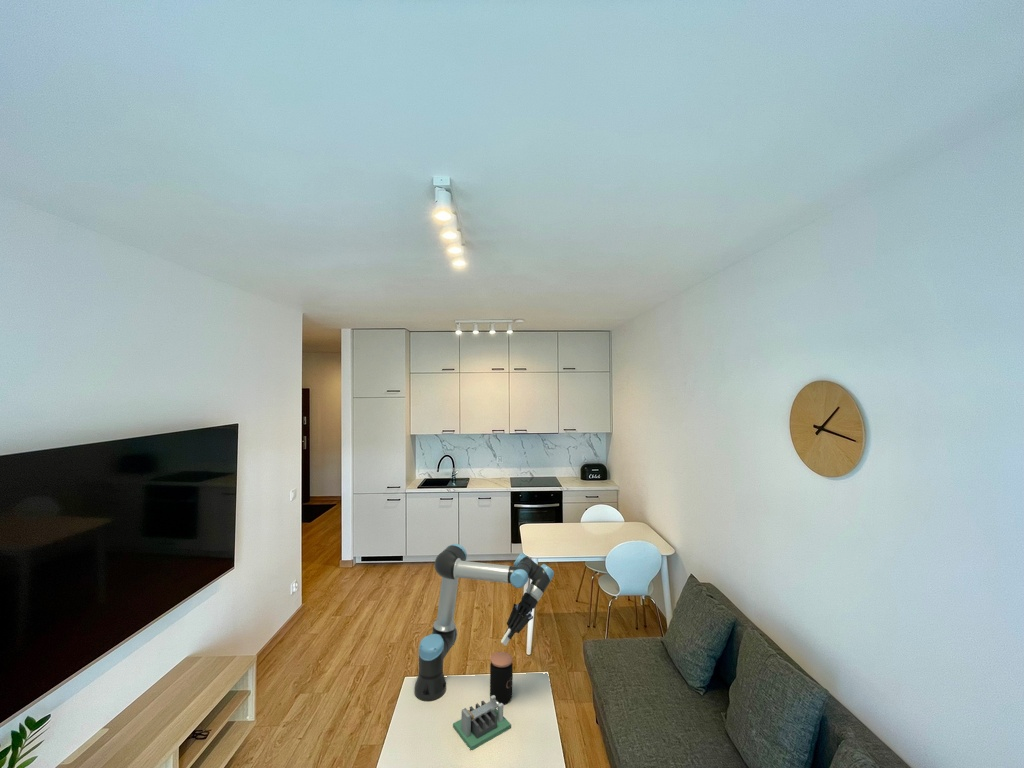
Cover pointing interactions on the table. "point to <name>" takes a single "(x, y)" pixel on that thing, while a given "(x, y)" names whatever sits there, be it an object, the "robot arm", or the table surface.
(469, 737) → the cpu board
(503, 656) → the coffee jar
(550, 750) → the table surface
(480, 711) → the silver flat bar
